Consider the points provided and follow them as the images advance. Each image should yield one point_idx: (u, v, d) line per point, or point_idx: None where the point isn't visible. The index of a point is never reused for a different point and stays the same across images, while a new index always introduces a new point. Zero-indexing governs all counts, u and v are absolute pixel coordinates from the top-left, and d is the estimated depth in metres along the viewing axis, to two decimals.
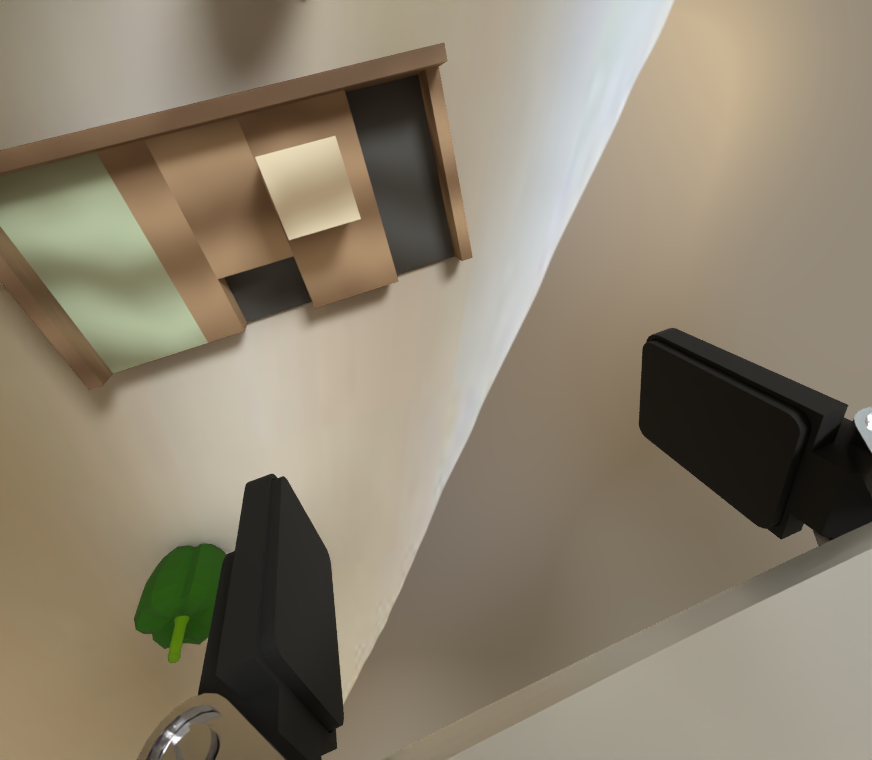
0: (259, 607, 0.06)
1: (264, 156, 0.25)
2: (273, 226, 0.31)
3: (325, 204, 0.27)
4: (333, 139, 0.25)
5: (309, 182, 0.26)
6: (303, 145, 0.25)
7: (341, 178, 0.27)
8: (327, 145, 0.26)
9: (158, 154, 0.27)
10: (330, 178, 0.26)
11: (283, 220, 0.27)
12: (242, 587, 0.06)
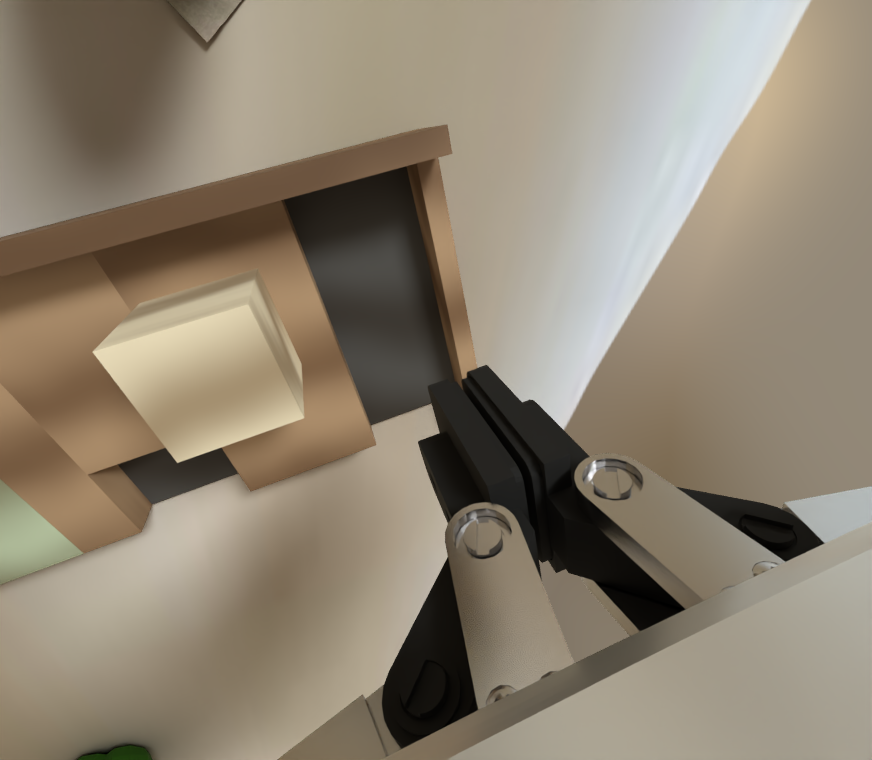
0: (496, 450, 0.08)
1: (111, 349, 0.13)
2: None
3: (239, 405, 0.16)
4: (245, 310, 0.14)
5: (206, 378, 0.15)
6: (187, 324, 0.14)
7: (264, 366, 0.15)
8: (234, 320, 0.14)
9: None
10: (244, 368, 0.15)
11: (162, 437, 0.15)
12: (474, 441, 0.08)
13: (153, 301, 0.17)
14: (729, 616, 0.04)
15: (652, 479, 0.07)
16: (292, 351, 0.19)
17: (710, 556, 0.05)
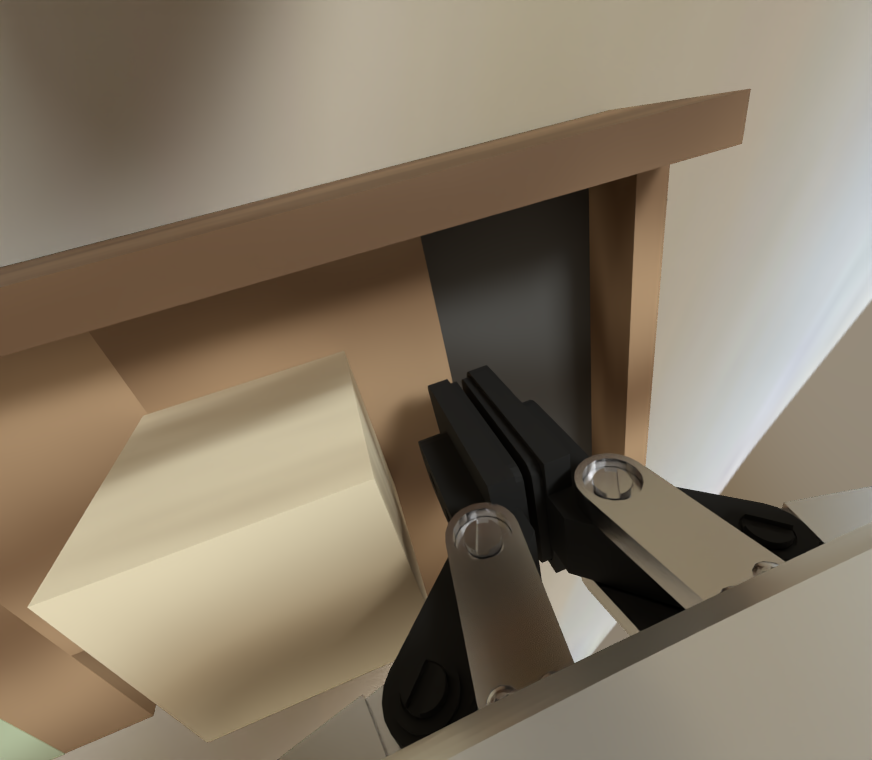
0: (497, 451, 0.08)
1: (72, 596, 0.06)
2: None
3: (331, 644, 0.08)
4: (366, 490, 0.06)
5: (274, 614, 0.07)
6: (244, 530, 0.06)
7: (386, 577, 0.08)
8: (341, 510, 0.06)
9: None
10: (350, 586, 0.07)
11: (181, 714, 0.08)
12: (474, 441, 0.08)
13: (166, 416, 0.10)
14: (729, 616, 0.04)
15: (652, 479, 0.07)
16: (390, 478, 0.12)
17: (710, 556, 0.05)
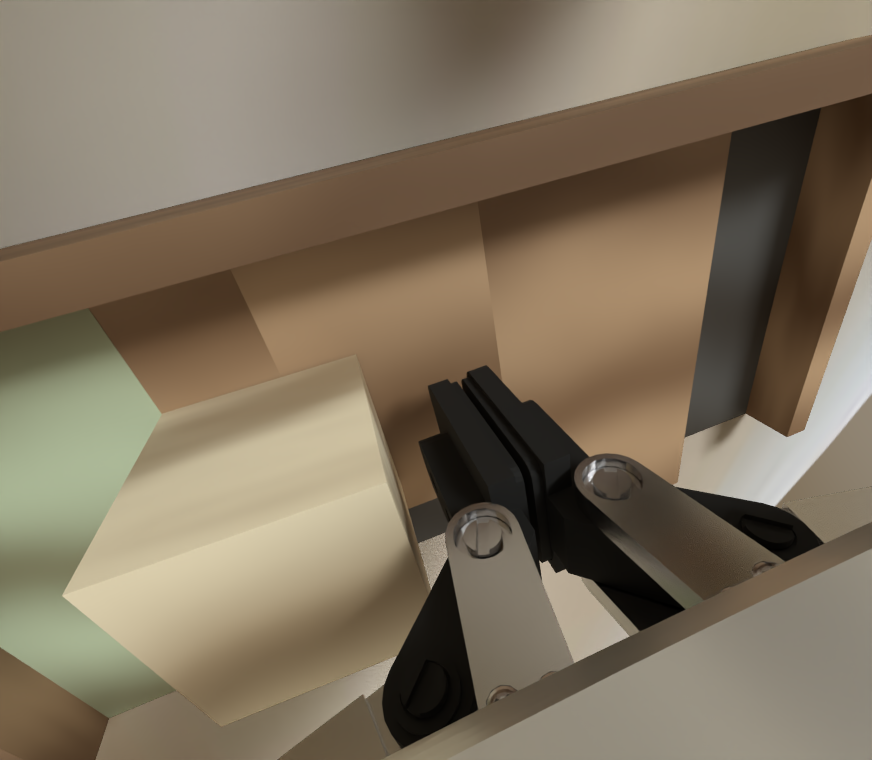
0: (497, 450, 0.08)
1: (103, 586, 0.06)
2: None
3: (341, 636, 0.08)
4: (378, 493, 0.07)
5: (288, 607, 0.07)
6: (263, 528, 0.06)
7: (395, 575, 0.08)
8: (354, 512, 0.07)
9: (258, 288, 0.10)
10: (360, 582, 0.08)
11: (197, 699, 0.08)
12: (474, 441, 0.08)
13: (185, 414, 0.10)
14: (729, 616, 0.04)
15: (652, 479, 0.07)
16: (397, 478, 0.12)
17: (710, 556, 0.05)
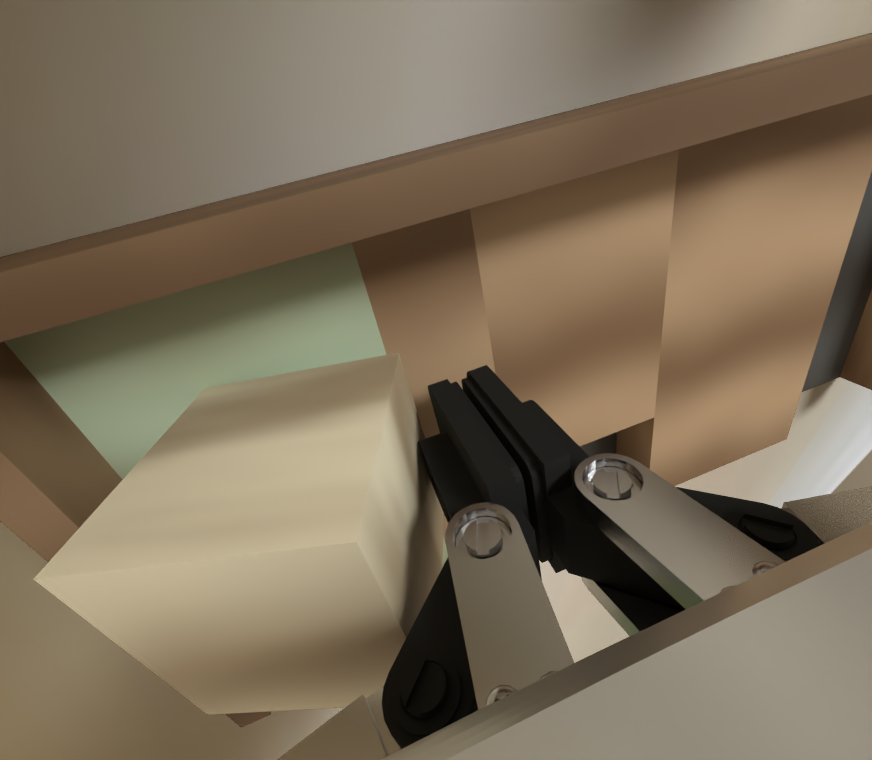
0: (497, 450, 0.08)
1: (68, 579, 0.06)
2: (644, 367, 0.14)
3: (318, 674, 0.07)
4: (347, 551, 0.05)
5: (257, 636, 0.07)
6: (217, 561, 0.06)
7: (376, 634, 0.07)
8: (320, 565, 0.06)
9: (487, 227, 0.10)
10: (334, 633, 0.07)
11: (180, 689, 0.08)
12: (474, 441, 0.08)
13: (221, 393, 0.10)
14: (729, 616, 0.04)
15: (652, 479, 0.07)
16: (434, 494, 0.11)
17: (710, 556, 0.05)
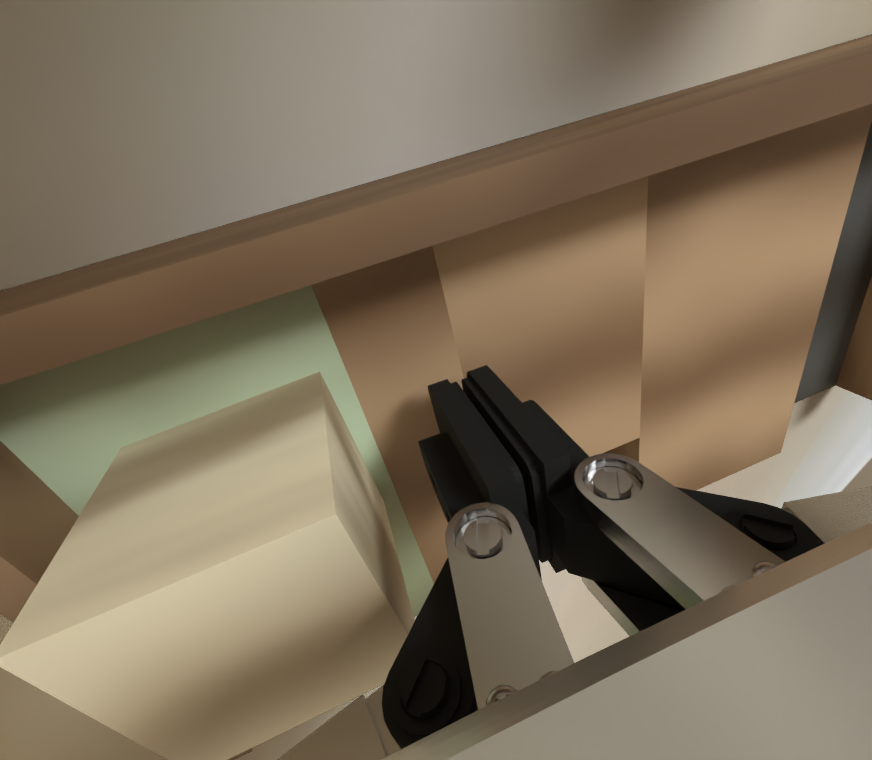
0: (497, 450, 0.08)
1: (35, 647, 0.06)
2: (626, 389, 0.14)
3: (312, 673, 0.08)
4: (328, 525, 0.06)
5: (247, 650, 0.07)
6: (205, 573, 0.06)
7: (361, 607, 0.07)
8: (305, 547, 0.06)
9: (450, 258, 0.10)
10: (323, 618, 0.07)
11: (164, 750, 0.08)
12: (474, 441, 0.08)
13: (143, 447, 0.10)
14: (729, 616, 0.04)
15: (652, 479, 0.07)
16: (376, 495, 0.12)
17: (710, 556, 0.05)
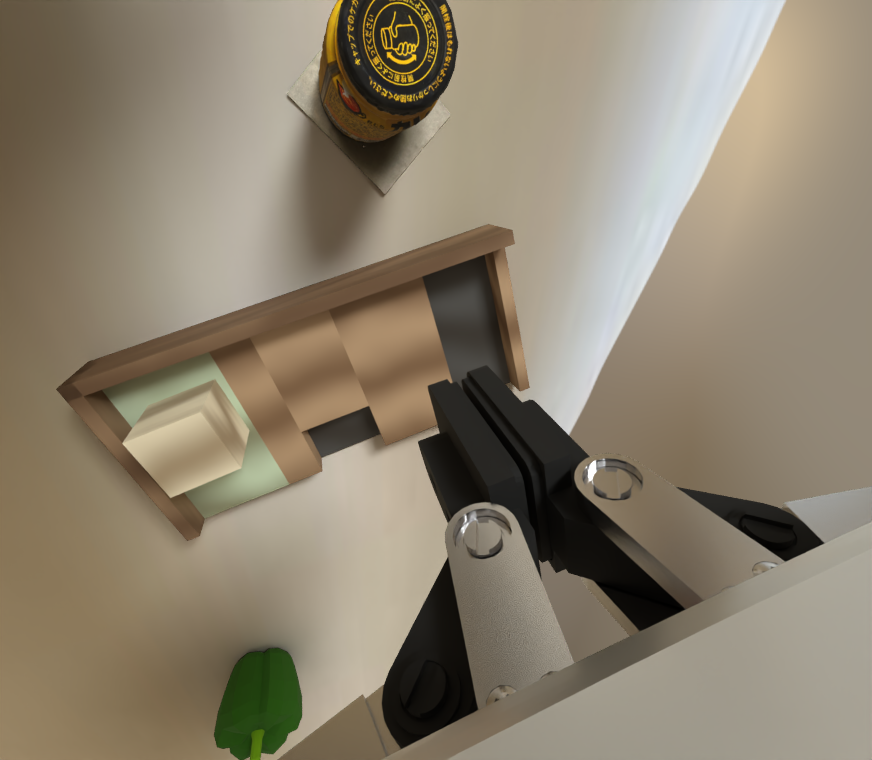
0: (496, 451, 0.08)
1: (131, 441, 0.26)
2: (352, 384, 0.34)
3: (202, 464, 0.28)
4: (199, 415, 0.26)
5: (182, 451, 0.27)
6: (169, 425, 0.26)
7: (213, 442, 0.27)
8: (194, 420, 0.26)
9: (257, 340, 0.30)
10: (202, 444, 0.27)
11: (161, 484, 0.28)
12: (474, 441, 0.08)
13: (155, 404, 0.30)
14: (729, 616, 0.04)
15: (652, 479, 0.07)
16: (240, 424, 0.32)
17: (710, 556, 0.05)
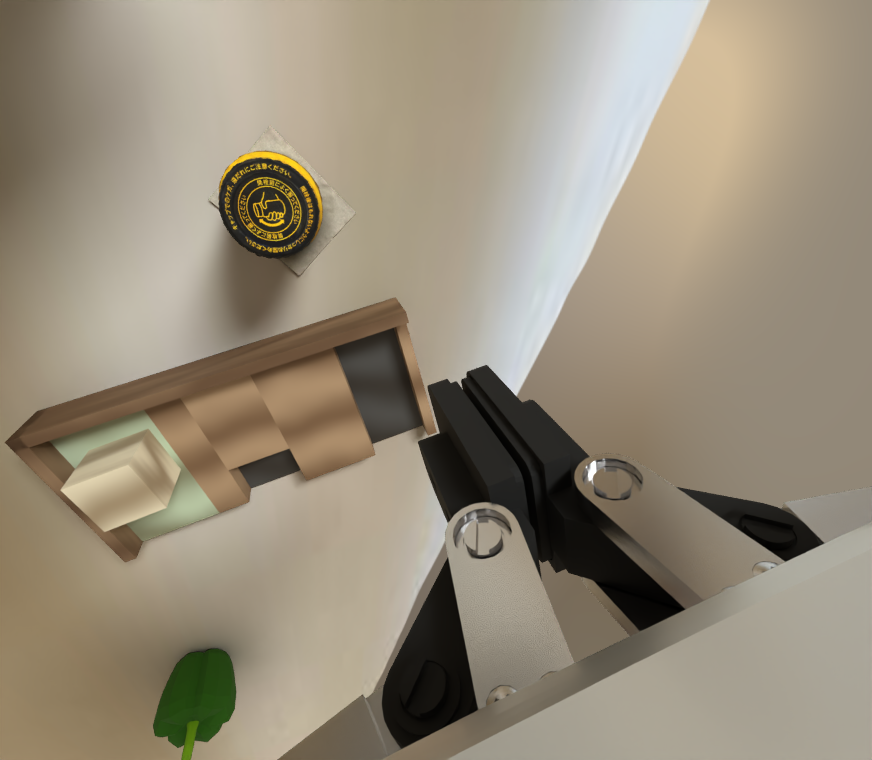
0: (496, 451, 0.08)
1: (68, 488, 0.31)
2: (273, 431, 0.39)
3: (132, 505, 0.33)
4: (127, 467, 0.31)
5: (113, 495, 0.32)
6: (101, 475, 0.31)
7: (141, 487, 0.33)
8: (122, 471, 0.32)
9: (185, 397, 0.35)
10: (131, 489, 0.32)
11: (95, 521, 0.33)
12: (474, 441, 0.08)
13: (94, 450, 0.35)
14: (729, 616, 0.04)
15: (652, 479, 0.07)
16: (171, 466, 0.37)
17: (710, 556, 0.05)
